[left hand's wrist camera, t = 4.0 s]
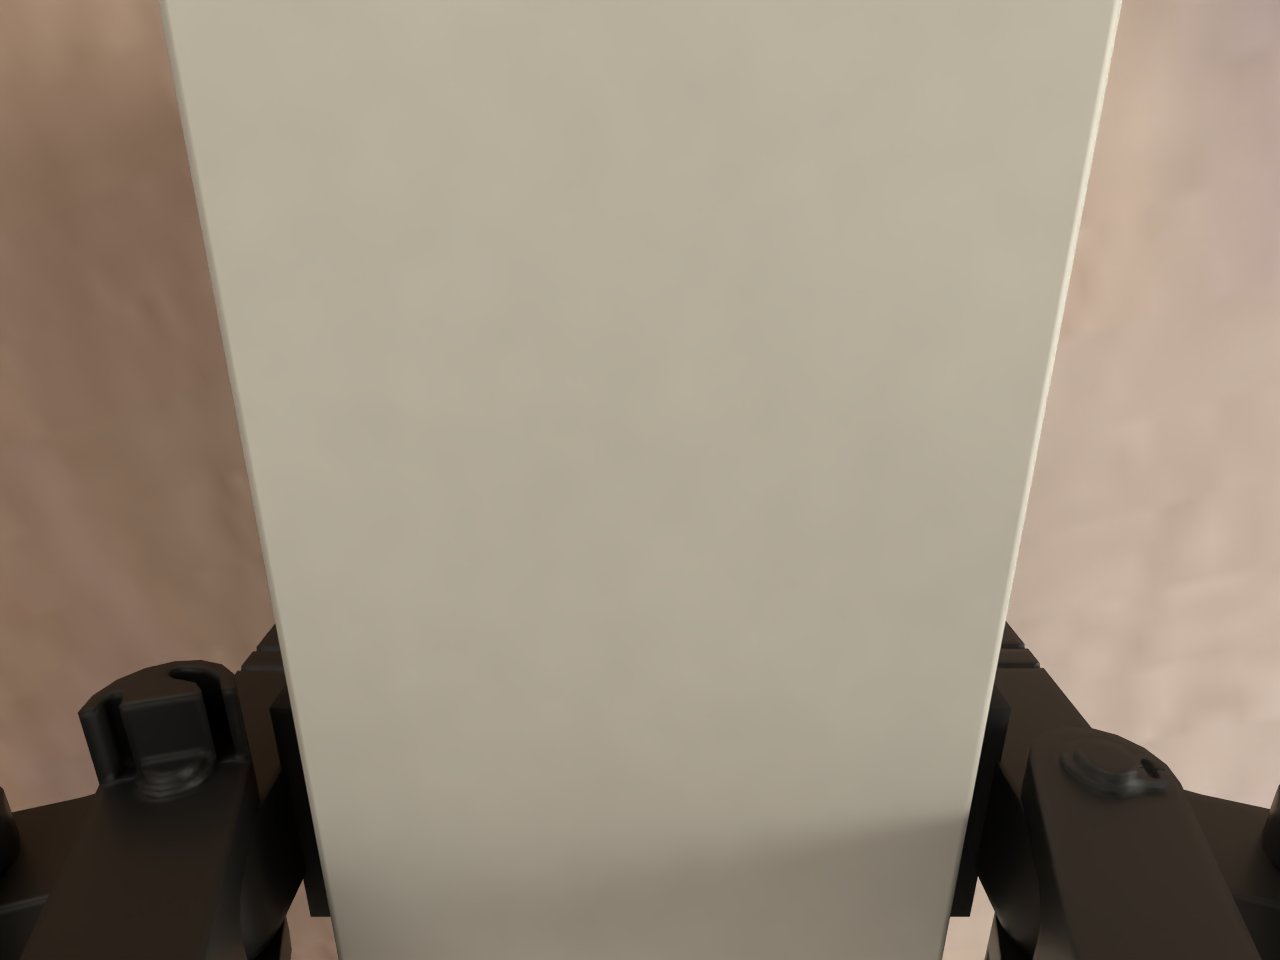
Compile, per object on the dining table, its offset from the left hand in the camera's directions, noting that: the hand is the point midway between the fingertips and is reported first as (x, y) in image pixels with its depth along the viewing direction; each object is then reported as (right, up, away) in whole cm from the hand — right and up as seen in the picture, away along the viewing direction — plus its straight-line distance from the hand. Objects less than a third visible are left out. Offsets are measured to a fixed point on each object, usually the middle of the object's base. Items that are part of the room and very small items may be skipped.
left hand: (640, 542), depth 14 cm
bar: (0, -18, +8) cm, 20 cm away
